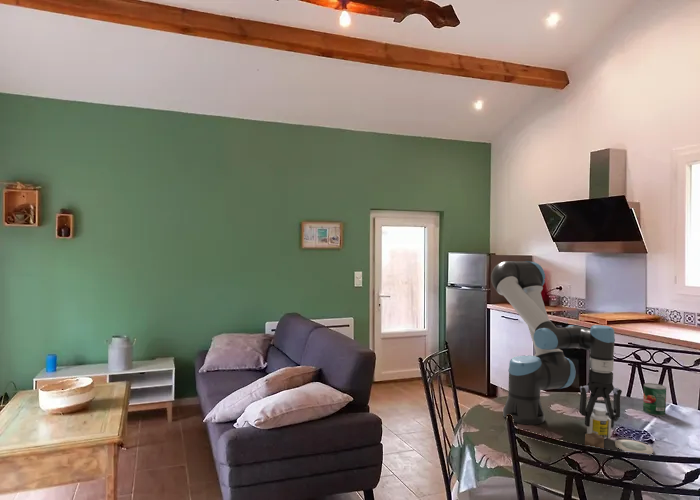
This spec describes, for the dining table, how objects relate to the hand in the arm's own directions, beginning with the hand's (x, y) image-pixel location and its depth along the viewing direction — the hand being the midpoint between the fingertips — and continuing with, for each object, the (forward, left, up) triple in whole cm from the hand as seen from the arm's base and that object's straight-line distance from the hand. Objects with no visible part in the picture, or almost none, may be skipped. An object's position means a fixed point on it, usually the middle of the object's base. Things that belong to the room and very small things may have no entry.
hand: (598, 435), depth 173 cm
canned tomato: (+33, +31, -1) cm, 45 cm away
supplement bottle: (0, 0, -1) cm, 1 cm away
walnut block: (-5, -9, -1) cm, 10 cm away
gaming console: (+12, +29, -1) cm, 31 cm away
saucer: (+8, -8, -1) cm, 12 cm away
